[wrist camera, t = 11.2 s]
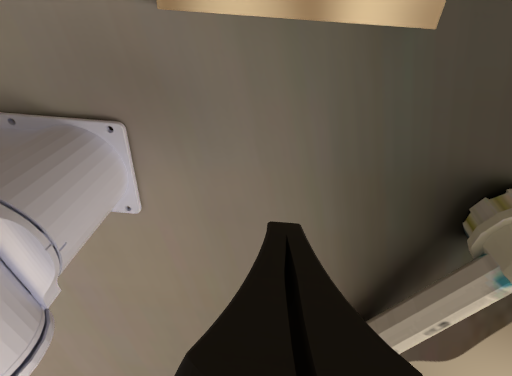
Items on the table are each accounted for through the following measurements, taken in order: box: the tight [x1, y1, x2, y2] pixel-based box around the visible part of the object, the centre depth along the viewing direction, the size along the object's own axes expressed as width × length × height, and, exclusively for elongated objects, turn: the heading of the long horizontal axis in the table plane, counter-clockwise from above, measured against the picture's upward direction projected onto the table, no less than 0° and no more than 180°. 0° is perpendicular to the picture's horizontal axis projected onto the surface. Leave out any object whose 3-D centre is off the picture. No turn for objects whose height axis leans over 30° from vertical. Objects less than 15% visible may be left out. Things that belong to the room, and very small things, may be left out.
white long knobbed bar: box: [366, 189, 512, 354], centre depth 26 cm, size 5×7×25 cm
